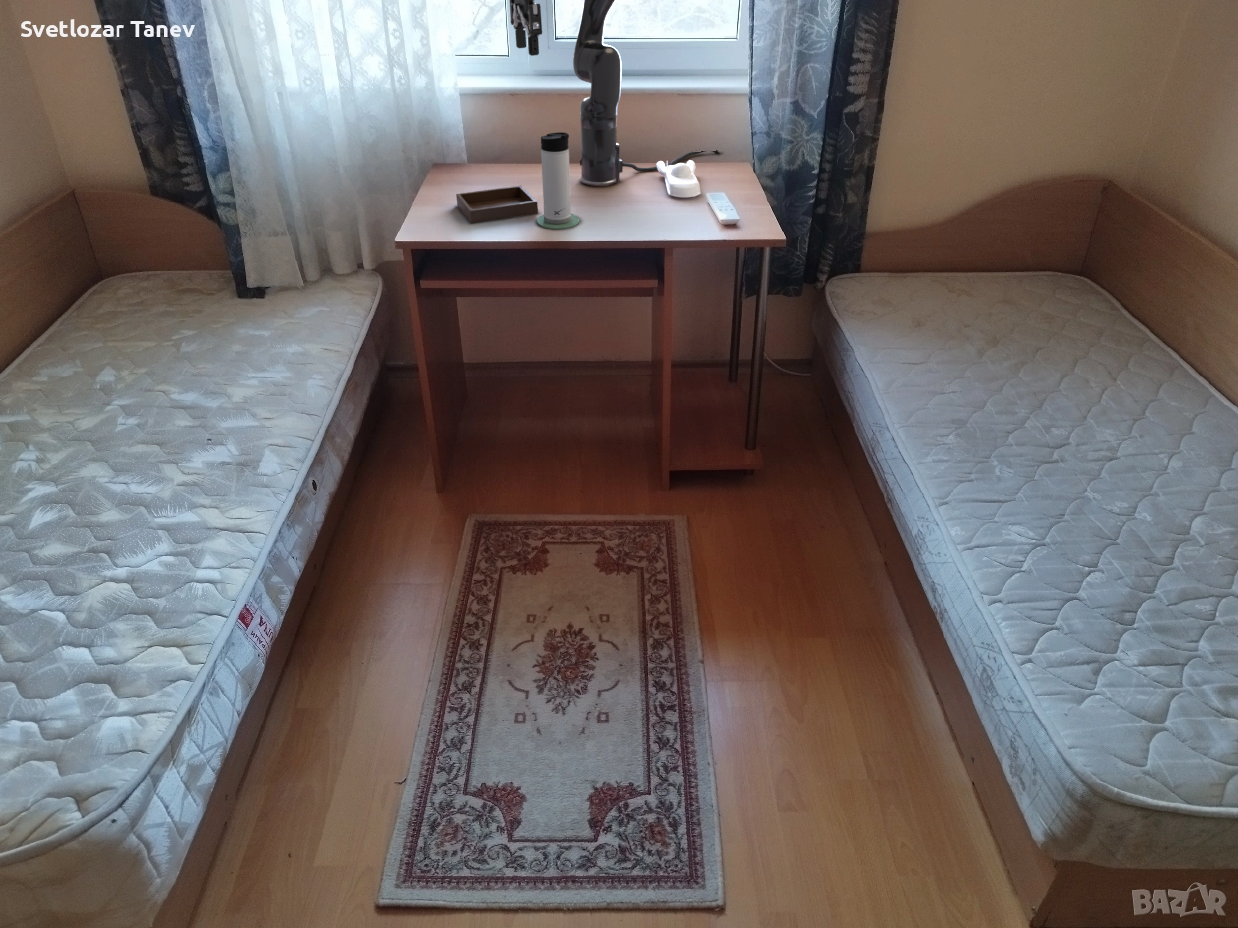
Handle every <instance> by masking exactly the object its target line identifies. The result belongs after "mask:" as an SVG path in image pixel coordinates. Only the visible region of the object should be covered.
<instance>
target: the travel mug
mask: <svg viewBox="0 0 1238 928" xmlns="http://www.w3.org/2000/svg"><path fill="white" fill-rule="evenodd" d="M569 138H570V135H569V133H567V132H563V131H561V132H560V131H559V132H558V131H557V132H551V133H547V134H546V135H542V136H540V144H541V145H540V150H541V152H540V155H541V176H542V178H541V179H542V180H541V181H542V197H543V199H542V200H543V215H544V220H545V221H546V222H547V223H550V224H565V223H567V222H569V221H570V220H571V214H572V211H571V207H572V206H571V176H570V147H569V146H570V145H569Z"/></svg>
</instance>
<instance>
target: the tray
mask: <svg viewBox="0 0 1238 928" xmlns="http://www.w3.org/2000/svg"><path fill="white" fill-rule="evenodd" d="M455 198H456V205H457V208H458V209H459V210H460V211H461V212H462V214H463V215H464V217H465V218H466V219H467V220H468V221H469V222H470V224H477V223H482V222H483V223H484V222H490V221H491V222H492V221H496V220H497V221H498V220H504V219H511V218H516V217H524V216H532V215H537V214H539V206H538V205H539V204H538V200H537V199H535V197H533V196H532V195H531V193H529V192H528V190H526V189H525V187H523V186H522V185H513V186H505V187H498V188H492V189H484V190H476V191H475V190H474V191H469V192H468V191H467V192H461V193H456V194H455Z"/></svg>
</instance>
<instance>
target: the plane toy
mask: <svg viewBox="0 0 1238 928" xmlns="http://www.w3.org/2000/svg"><path fill="white" fill-rule="evenodd" d="M668 163H669V162H668V160H667V159H666V164H667V165H666V167H665V162H664V161H662V160H659V161H657V162H656V165H655V167H657V169H658V170H657V171H658V172H659V174H660V175H661V176H663V177H664V182H665V186H666V190H667V193H668V195H669V196H672V197H676V198H695V197H697V196H700V195H701V194H702V193H701V185H700V182H699V180H698V179H697V177H696V175H695V172H696V163H695V161H693V160H690V159H688V161H687V162H686V163H684V162H679V163H678V162H677V163H675V164H674V165H670V166H668Z"/></svg>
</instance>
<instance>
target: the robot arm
mask: <svg viewBox="0 0 1238 928" xmlns="http://www.w3.org/2000/svg"><path fill="white" fill-rule="evenodd" d="M617 2H618V0H583V2H582V11H581V17H580V22H579V27H578V32H577V36H576V40H575V45H574V51H573V57H572V65H573V67H572V68H573V71H574V75H575V76H576V77H577V78H578V79H579V80H581V81H583V82H585V83H588V84H590V95H589V96H588V97H585V98H583V99H582V100H581V101H580V103H579V104H580V105H579V113H580V115H579V116H580V160H579V167H581V169H580V170H581V172H580V173H581V175H580V176H581V177H580V179H581V180H580V181H581V183H583V184H584V185H587V186H591V187H607V186H611V185H614V184H616V183H620V173H622V174H623V167H627V168H631V169H633V170H634V171H636V172H654V171H658V169H657V167H656V166H651V167H638V166H637V165H635V164H634V163H630V162H623V160H622V159H621V157H620V156H621V151H620V150H621V147H620V144H619V143H617V141H618V139H617V138H618V131H617V130H618V128H617V127H618V124H617V123H618V105H619V103H620V99H621V85H622V59H621V55H620V52H619V51H618V49H616V48H615V47H614V46H612V45H608V44H605V43H604V34H605V28H606V25H607V21H608V18H609V15H610V13H611V12H612V10H613V8H614V7H615V5H616V3H617ZM541 9H542V7H541V3H535V0H509V12H510V13H509V17H510V25H511V26H513V30H514V31H515V32H514V33H515V34H514V35H515V46H516V48H518V49H525V48H526V47H527V50H528V51H527V52H528V55H529V56H531V57H532V56H539V55H540V44H539V43H540V42H539V37H540V35H543V25H542V10H541ZM704 152H706V151H701V152H693V151H689V152H686V153H684V154H682V155H680V156H679V157H677V158H675V159H673V160H671V162H668V166H670V165H676V164H678V162H679V163H680V162H681V161H683V160H684V159H686V158H688V157H691V156H695V155H698V154H701V153H704ZM711 153H714V154H716V155H719V154H720V151H719V150H718V149H716V151H711ZM664 164H665V163H664ZM666 165H667V163H666V164H665V167H666Z"/></svg>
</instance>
